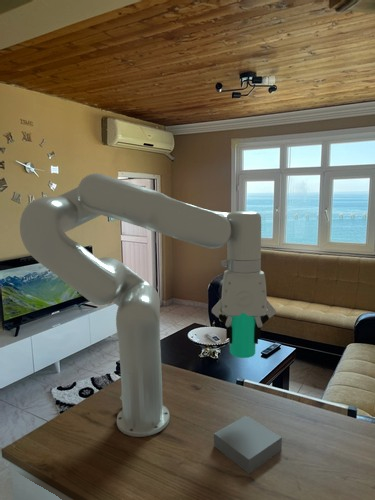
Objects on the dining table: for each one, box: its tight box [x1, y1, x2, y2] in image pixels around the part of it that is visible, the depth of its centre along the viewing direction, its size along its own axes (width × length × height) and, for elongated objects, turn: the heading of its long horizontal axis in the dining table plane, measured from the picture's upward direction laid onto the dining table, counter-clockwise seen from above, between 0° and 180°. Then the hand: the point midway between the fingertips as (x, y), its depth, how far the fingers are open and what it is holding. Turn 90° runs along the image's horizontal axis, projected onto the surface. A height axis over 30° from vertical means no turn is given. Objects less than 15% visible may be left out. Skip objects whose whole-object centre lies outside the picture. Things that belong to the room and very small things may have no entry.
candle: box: [229, 313, 256, 359], centre depth 84 cm, size 6×6×12 cm
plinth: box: [213, 414, 283, 474], centre depth 76 cm, size 10×10×3 cm
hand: (243, 340), depth 85 cm, fingers closed on candle, 5 cm apart
